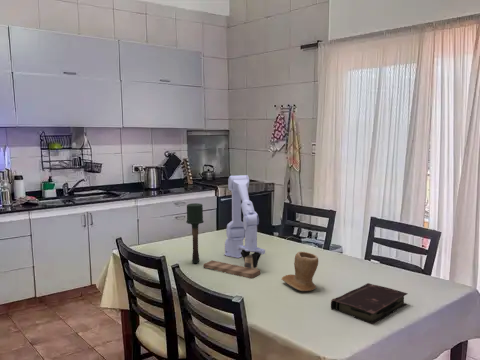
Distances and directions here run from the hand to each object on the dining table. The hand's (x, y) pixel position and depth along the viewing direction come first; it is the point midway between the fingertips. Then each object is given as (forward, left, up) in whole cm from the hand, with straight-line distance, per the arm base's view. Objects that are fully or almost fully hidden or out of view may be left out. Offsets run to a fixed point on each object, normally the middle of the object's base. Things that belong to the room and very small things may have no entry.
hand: (251, 266), depth 209 cm
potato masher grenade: (-29, -6, -2) cm, 30 cm away
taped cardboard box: (0, 0, -2) cm, 2 cm away
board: (-7, -7, -2) cm, 10 cm away
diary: (+61, -13, -2) cm, 62 cm away
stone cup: (+30, -7, -2) cm, 31 cm away
